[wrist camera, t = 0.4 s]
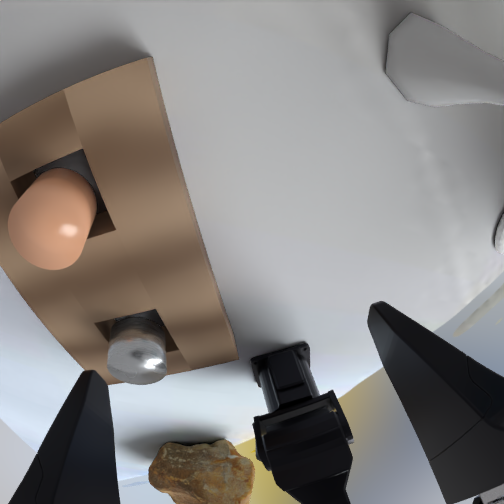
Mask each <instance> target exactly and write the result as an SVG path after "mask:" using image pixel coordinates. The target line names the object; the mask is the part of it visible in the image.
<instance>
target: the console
mask: <svg viewBox="0 0 504 504" xmlns="http://www.w3.org/2000/svg"><path fill="white" fill-rule="evenodd" d="M80 149H83V150H84V153H85V155H86V158H87V161H88V163H89V166H90V168H91V171H92V174H93V176H94V179H95V181H96V184H97V186H98V189H99V191H100V193H101V196H102V198H103V201H104V203H105V205H106V208H107V210H108V211H105V212H102V213H99V214H96V216H95V219H94V221H93V224H92V226H91V229H90V231H89V234H88V237H87V239H86V242H85V245H84V247H83V250H82V253H81V255H80V256H79V258H78V259H77V260H76V261H75V262H74V263H73V264H72V265H70V266H68V267H66V268H64V269H59V270H48V269H43V268H40V267H37V266H35V265H33V264H31V263H30V262H28V261H27V260H25V259H24V258H23V257H22V256H21V255H20V254H19V253H18V251H17V250H16V249H15V247H14V245H13V243H12V241H11V239H10V236H9V232H8V218H9V214H10V211H11V209H12V208H13V206H14V205H15V203H16V202H17V201H18V200H19V199H20V197H21V196H22V195H23V194H24V193H25V191H26V190H27V189H28V188H29V187H30V186H31V184H32V183H33V182H34V181H35V180H36V176H35V174H34V172H33V170H35V169H37V168H39V167H41V166H43V165H45V164H48V163H50V162H52V161H54V160H57V159H59V158H61V157H64V156H66V155H68V154H71V153H73V152H75V151H78V150H80ZM0 266H1V267H2V269H3V270H4V272H5V273H6V275H7V276H8V278H9V279H10V280H11V282H12V283H13V285H14V286H15V288H16V289H17V290H18V292H19V293H20V294H21V296H22V297H23V299H24V300H25V301H26V303H27V304H28V305H29V307H30V308H31V309H32V310H33V312H34V313H35V314H36V315H37V317H38V318H39V319H40V320H41V322H42V323H43V324H44V325H45V327H46V328H47V329H48V330H49V331H50V333H51V334H52V335H53V336H54V337H55V338H56V340H57V341H58V342H59V343H60V344H61V345H62V346H63V347H64V349H65V350H66V351H67V352H68V353H69V354H70V355H71V356H72V357H73V358H74V359H75V360H76V361H77V363H78V364H79V365H80V366H81V367H82V368H83V369H84V370H92V369H93V370H96V371H97V373H98V374H99V375H100V376H101V377H102V378H103V379H104V380H105V381H106V383H107V385H111V384H118V383H125V382H123V381H120V380H118V379H116V378H115V377H114V376H112V375H111V374H110V372H109V371H108V369H107V361H108V350H109V341H110V332H111V328H112V326H113V325H114V324H115V323H116V320H115V319H114V318H119V317H123V316H127V315H132V314H136V313H140V312H145V311H149V310H153V309H156V310H157V312H158V314H159V315H160V317H161V319H162V321H163V322H164V324H165V326H161V328H162V329H163V330H164V332H165V342H166V365H167V373H166V375H171V374H176V373H181V372H186V371H191V370H195V369H200V368H205V367H209V366H213V365H218V364H222V363H226V362H230V361H235V360H239V356H238V352H237V347H236V343H235V338H234V334H233V331H232V328H231V325H230V322H229V319H228V316H227V313H226V310H225V307H224V304H223V301H222V298H221V295H220V292H219V289H218V286H217V283H216V280H215V277H214V274H213V271H212V268H211V265H210V262H209V258H208V255H207V252H206V249H205V246H204V242H203V239H202V236H201V233H200V229H199V226H198V223H197V220H196V216H195V213H194V210H193V206H192V203H191V200H190V196H189V193H188V189H187V186H186V182H185V179H184V175H183V172H182V168H181V165H180V161H179V158H178V154H177V150H176V147H175V143H174V139H173V136H172V132H171V128H170V125H169V121H168V117H167V113H166V109H165V105H164V102H163V98H162V94H161V90H160V86H159V82H158V78H157V73H156V69H155V65H154V61H153V57H148V58H144V59H141V60H138V61H134V62H131V63H128V64H125V65H122V66H120V67H117V68H114V69H111V70H109V71H106V72H103V73H101V74H98V75H96V76H93V77H91V78H88V79H86V80H83V81H81V82H79V83H76V84H74V85H72V86H70V87H67V88H65V89H63V90H61V91H59V92H57V93H55V94H52V95H50V96H48V97H46V98H44V99H42V100H40V101H39V102H37V103H35V104H33V105H31V106H29V107H27V108H25V109H24V110H22V111H20V112H18V113H17V114H15V115H13V116H11V117H10V118H8V119H6V120H5V121H3V122H1V123H0ZM166 375H165V376H166Z"/></svg>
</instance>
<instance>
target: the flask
mask: <svg viewBox="0 0 504 504" xmlns="http://www.w3.org/2000/svg"><path fill="white" fill-rule="evenodd" d="M385 73H386V74H387V75H388V77H389V78H390V79H391V80H392V81H393V83H394V84H395V85H396V87H397V88H398V89H399V90H400V92H401V93H402V94H403V96H404V97H405V98H406V100H407V101H410V102H415V103H419V104H423V105H427V106H432V107H442V106H449V105H457V104H470V103H491V104H497V105H502V106H504V61H503V60H501V59H499V58H497V57H495V56H493V55H491V54H489V53H486V52H484V51H483V50H481V49H480V48H478V47H476V46H475V45H473V44H472V43H470V42H468V41H466V40H465V39H463V38H462V37H460V36H459V35H457V34H455V33H454V32H452V31H450V30H449V29H447V28H445V27H443V26H441V25H439V24H437V23H435V22H433V21H430V20H428V19H426V18H423V17H421V16H418V15H416V14H413V13H410V14H409V15H408V16H407V17H406V18H405V19H404V20H403V21H402V22H401V23H400V24H399V25H398V26H397V27H396V28H395V29H394V30H393V31H392V32H391V33H390V34H389V43H388V54H387V63H386V72H385Z"/></svg>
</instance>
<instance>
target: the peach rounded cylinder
mask: <svg viewBox="0 0 504 504" xmlns="http://www.w3.org/2000/svg"><path fill="white" fill-rule="evenodd" d="M96 212H97V200H96V196H95V193H94V191H93V189H92V187H91V185H90V184H89V182H88V181H87V180H86V179H85V178H84V177H83V176H81V175H80V174H79V173H77V172H75V171H73V170H70V169H66V168H53V169H50V170H47V171H45V172H43V173H42V174H41V175H40V176H39V177H38V178H37V179H36V180H35V181H34V182H33V183H32V184H31V186H30V187H29V188H28V189H27V190H26V191H25V193H24V194H23V195H22V196H21V197H20V199H19V200H18V201H17V202H16V203H15V205H14V206H13V208H12V209H11V211H10V214H9V218H8V232H9V236H10V239H11V241H12V243H13V245H14V247H15V249H16V250H17V251H18V253H19V254H20V255H21V256H22V257H23V258H24V259H25V260H27V261H28V262H30V263H31V264H33V265H35V266H37V267H40V268H43V269H48V270H59V269H64V268H66V267H68V266H70V265H72V264H73V263H74V262H75V261H76V260H77V259H78V258H79V256H80V255H81V253H82V250H83V247H84V245H85V242H86V239H87V237H88V234H89V231H90V229H91V226H92V224H93V221H94V219H95V216H96Z"/></svg>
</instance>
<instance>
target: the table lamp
mask: <svg viewBox="0 0 504 504" xmlns="http://www.w3.org/2000/svg"><path fill="white" fill-rule="evenodd" d="M495 248H496V251H497V252H498V253H500V254H504V213H503V215H502V217H501V220H500V222H499V224H498V227H497V231H496V235H495Z"/></svg>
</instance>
